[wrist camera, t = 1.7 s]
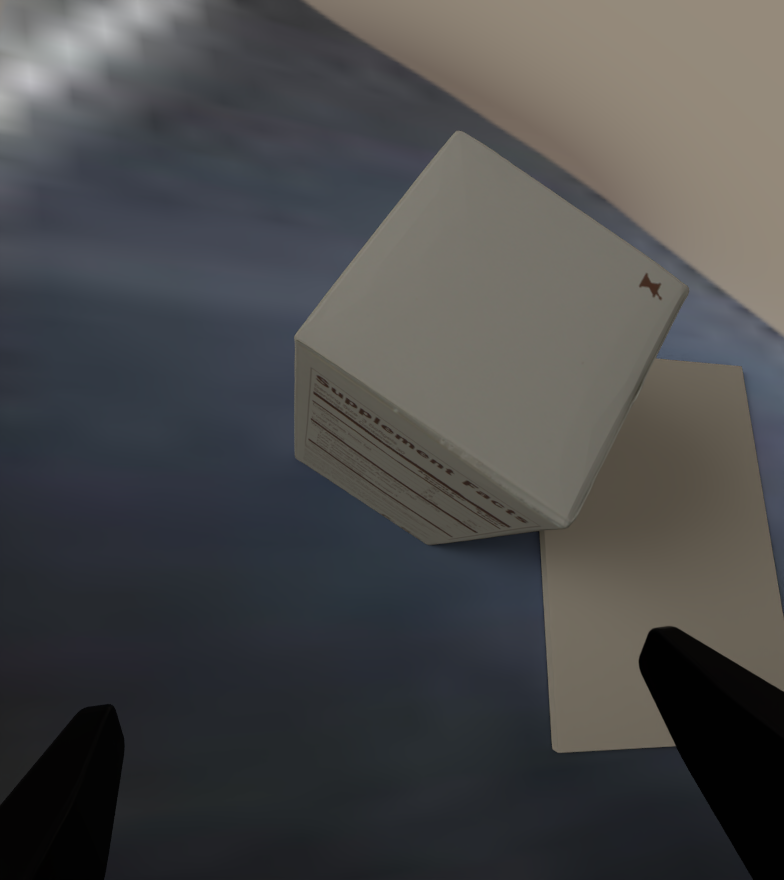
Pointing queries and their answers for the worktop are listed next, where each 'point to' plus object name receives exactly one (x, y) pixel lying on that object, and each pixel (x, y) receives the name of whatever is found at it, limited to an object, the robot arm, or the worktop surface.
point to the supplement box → (478, 354)
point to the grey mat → (660, 559)
